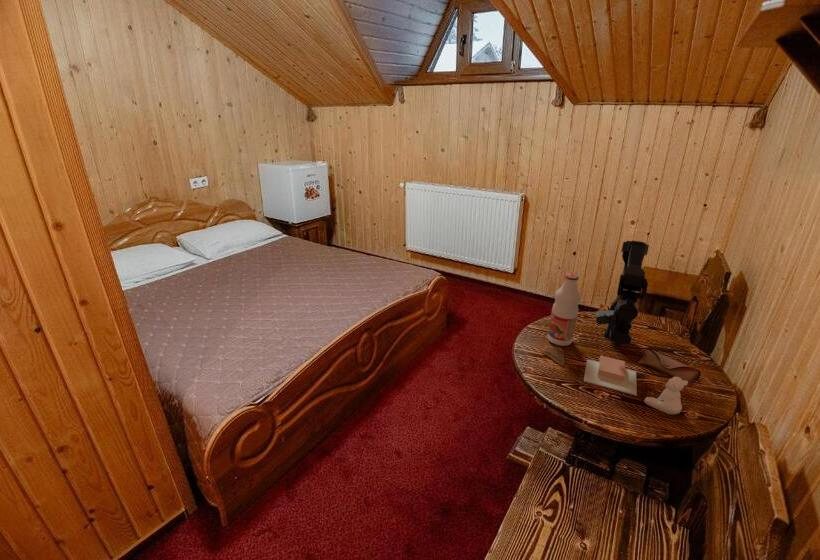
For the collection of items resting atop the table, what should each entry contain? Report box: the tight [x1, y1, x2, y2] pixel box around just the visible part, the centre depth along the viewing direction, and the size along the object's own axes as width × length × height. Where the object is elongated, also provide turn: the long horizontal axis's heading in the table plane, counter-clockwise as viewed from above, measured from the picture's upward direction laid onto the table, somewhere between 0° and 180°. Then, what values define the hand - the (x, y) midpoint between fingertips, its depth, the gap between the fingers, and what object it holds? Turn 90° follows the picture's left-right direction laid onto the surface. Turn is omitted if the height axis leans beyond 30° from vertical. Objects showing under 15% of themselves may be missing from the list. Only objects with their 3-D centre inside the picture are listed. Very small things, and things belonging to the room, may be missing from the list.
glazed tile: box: [597, 354, 626, 383], centre depth 140 cm, size 2×8×10 cm
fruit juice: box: [547, 272, 582, 347], centre depth 155 cm, size 9×9×28 cm
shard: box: [542, 345, 565, 367], centre depth 149 cm, size 11×8×2 cm
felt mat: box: [583, 358, 638, 397], centre depth 139 cm, size 14×16×1 cm
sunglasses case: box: [637, 348, 702, 387], centre depth 143 cm, size 18×7×7 cm, turn 40°
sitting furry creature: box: [644, 377, 688, 416], centre depth 122 cm, size 10×9×12 cm
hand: (615, 347), depth 142 cm, fingers closed
